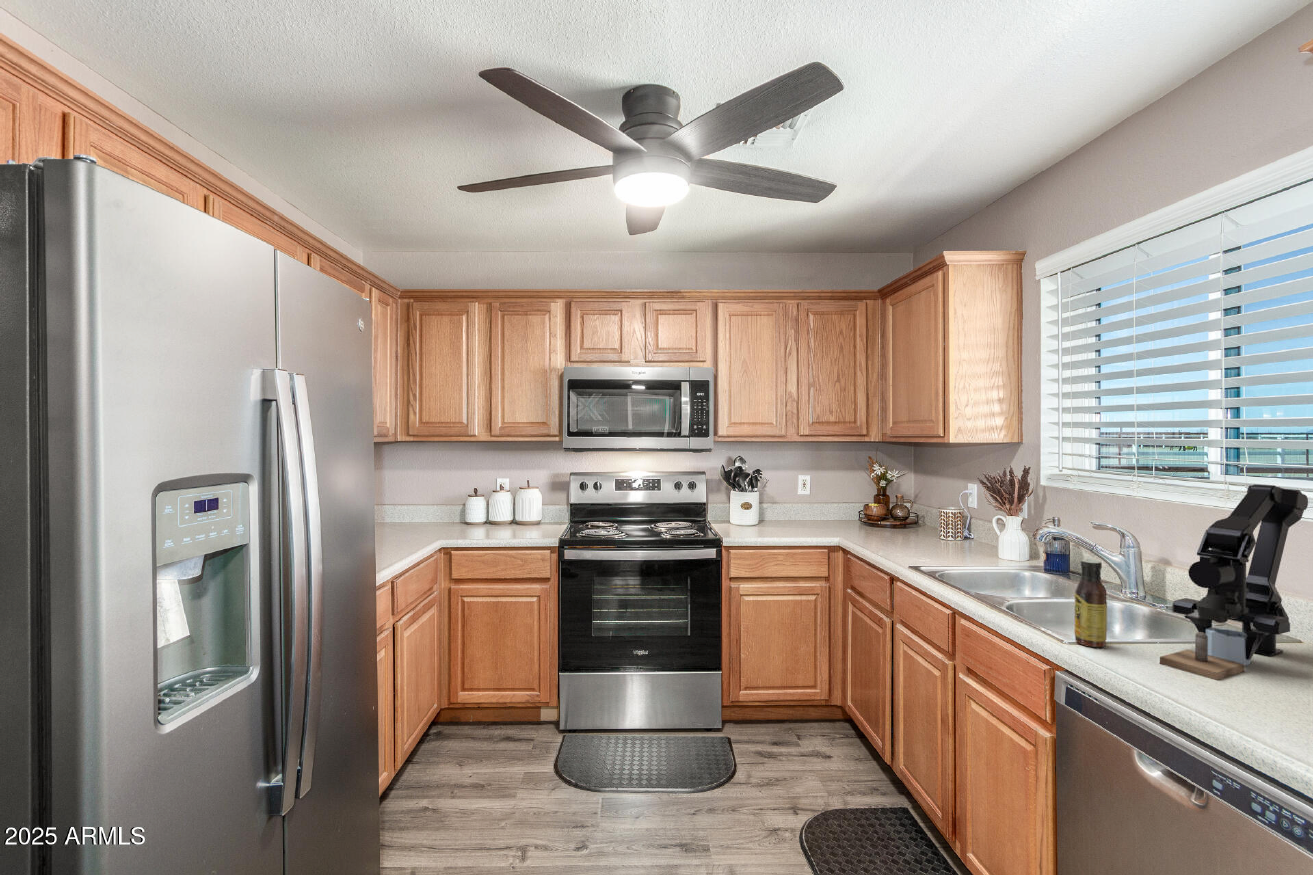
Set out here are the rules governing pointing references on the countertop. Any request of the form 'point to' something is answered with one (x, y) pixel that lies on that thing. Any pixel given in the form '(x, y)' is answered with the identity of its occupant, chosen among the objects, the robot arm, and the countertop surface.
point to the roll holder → (1202, 661)
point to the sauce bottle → (1091, 606)
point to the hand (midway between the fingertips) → (1227, 654)
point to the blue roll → (1227, 644)
